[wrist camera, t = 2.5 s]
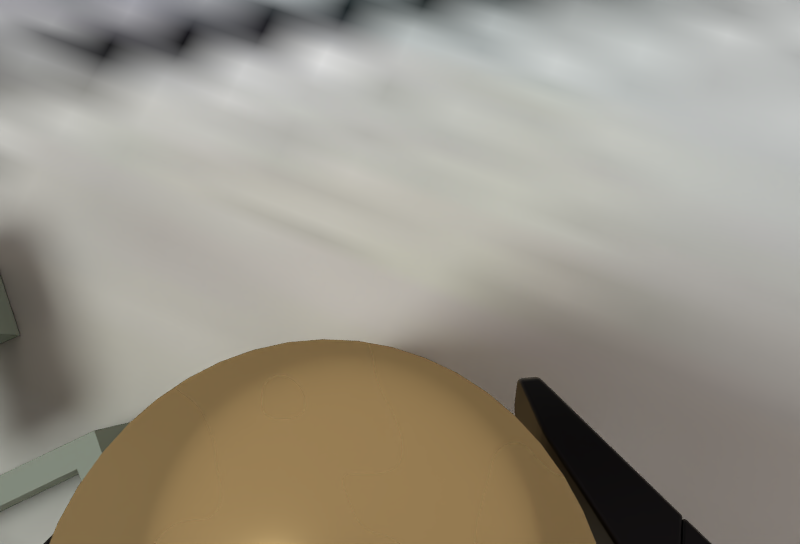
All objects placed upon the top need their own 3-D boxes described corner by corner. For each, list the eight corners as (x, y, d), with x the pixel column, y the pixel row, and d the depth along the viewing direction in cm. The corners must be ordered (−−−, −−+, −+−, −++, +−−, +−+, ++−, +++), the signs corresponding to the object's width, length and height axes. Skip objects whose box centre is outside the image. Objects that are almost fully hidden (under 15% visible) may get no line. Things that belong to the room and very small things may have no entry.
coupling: (485, 440, 16) (742, 692, 4) (368, 540, 15) (248, 1201, 3) (393, 323, 16) (370, 234, 5) (278, 416, 16) (-88, 587, 4)
